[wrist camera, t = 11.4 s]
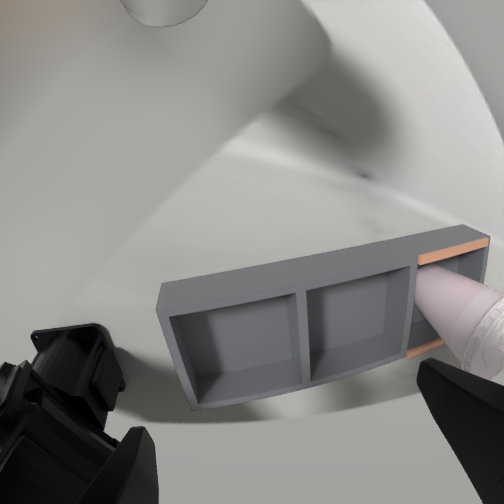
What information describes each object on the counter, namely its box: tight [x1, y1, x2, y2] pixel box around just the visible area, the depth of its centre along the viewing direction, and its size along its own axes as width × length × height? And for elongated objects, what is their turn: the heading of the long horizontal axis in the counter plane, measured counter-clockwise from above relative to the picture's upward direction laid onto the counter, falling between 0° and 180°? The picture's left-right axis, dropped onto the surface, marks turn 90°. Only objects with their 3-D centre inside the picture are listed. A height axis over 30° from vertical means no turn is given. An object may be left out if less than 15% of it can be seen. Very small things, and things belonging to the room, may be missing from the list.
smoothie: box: [414, 263, 504, 380], centre depth 17 cm, size 6×6×14 cm
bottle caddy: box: [156, 224, 490, 411], centre depth 21 cm, size 25×9×4 cm, turn 98°
